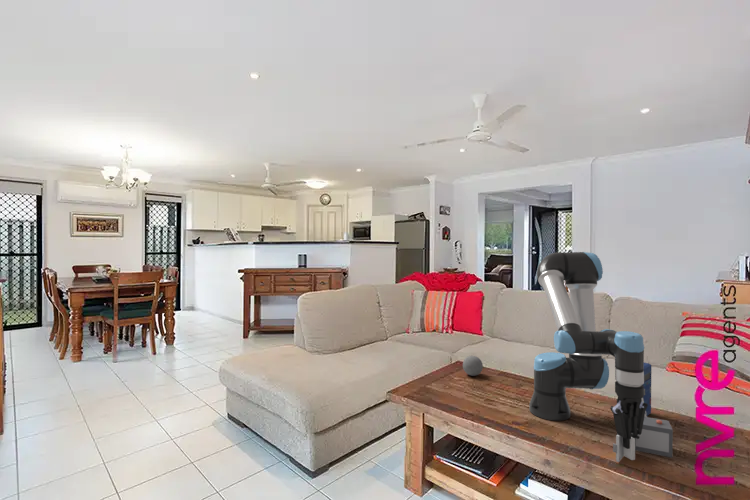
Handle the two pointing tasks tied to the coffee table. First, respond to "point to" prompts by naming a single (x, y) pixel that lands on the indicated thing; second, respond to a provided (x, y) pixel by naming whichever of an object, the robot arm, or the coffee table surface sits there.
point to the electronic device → (647, 387)
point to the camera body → (656, 437)
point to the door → (618, 448)
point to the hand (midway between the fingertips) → (629, 457)
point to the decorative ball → (472, 365)
